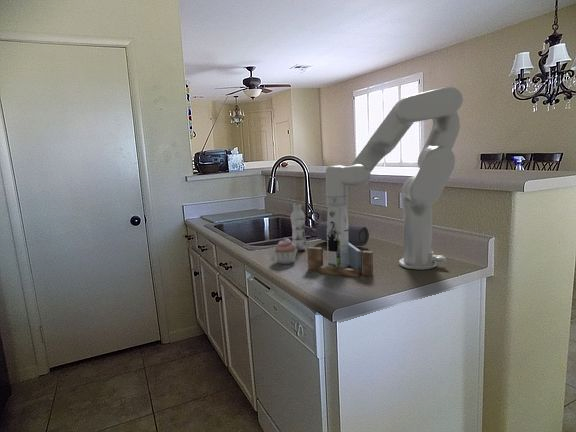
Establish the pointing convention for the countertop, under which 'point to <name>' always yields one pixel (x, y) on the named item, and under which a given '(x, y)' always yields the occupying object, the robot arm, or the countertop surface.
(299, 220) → the plastic bottle
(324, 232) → the bluetooth speaker
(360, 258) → the door
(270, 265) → the countertop surface
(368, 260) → the door frame
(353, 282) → the countertop surface
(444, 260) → the robot arm
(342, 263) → the syrup box
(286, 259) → the cupcake
